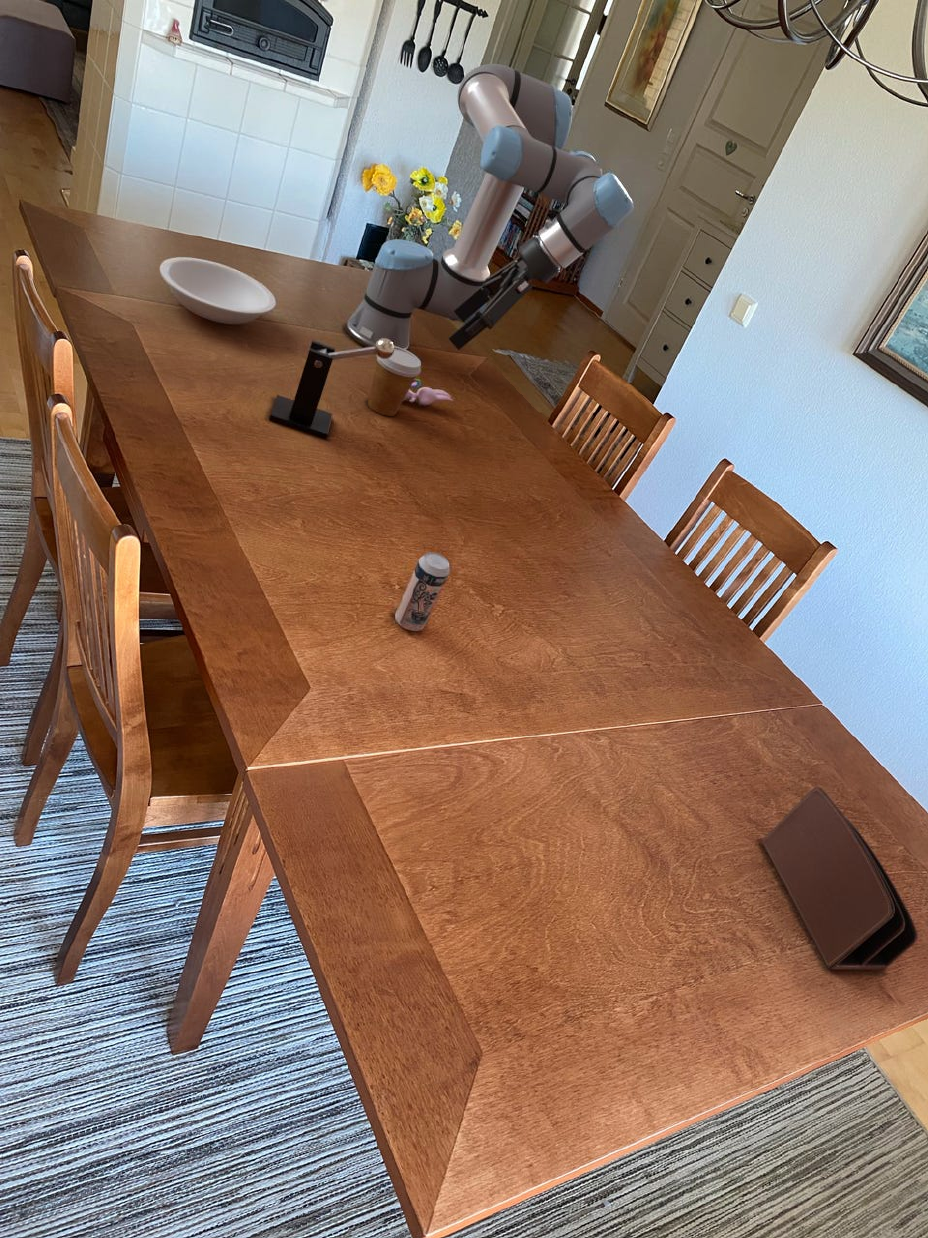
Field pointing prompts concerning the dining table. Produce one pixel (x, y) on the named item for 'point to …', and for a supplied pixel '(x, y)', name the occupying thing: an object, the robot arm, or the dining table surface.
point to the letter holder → (839, 887)
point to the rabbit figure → (426, 394)
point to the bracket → (307, 396)
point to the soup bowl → (216, 290)
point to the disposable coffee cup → (393, 381)
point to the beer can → (422, 591)
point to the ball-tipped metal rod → (366, 350)
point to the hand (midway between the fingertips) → (455, 329)
